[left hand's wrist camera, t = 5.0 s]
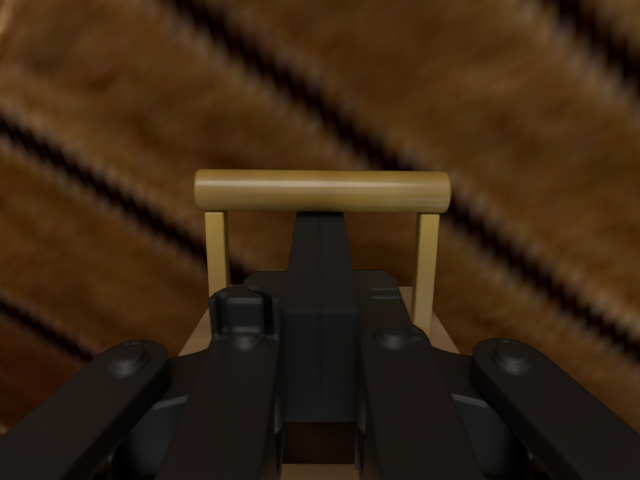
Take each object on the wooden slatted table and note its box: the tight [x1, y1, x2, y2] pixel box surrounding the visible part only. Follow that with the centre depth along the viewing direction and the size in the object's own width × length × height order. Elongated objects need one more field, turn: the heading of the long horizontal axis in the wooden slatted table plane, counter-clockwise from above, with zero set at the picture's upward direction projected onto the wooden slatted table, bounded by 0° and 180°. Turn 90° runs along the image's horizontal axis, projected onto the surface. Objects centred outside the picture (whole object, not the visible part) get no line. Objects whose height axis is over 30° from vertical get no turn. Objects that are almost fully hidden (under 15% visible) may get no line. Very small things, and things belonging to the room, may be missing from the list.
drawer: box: [179, 169, 460, 464], centre depth 18 cm, size 23×9×8 cm, turn 179°
